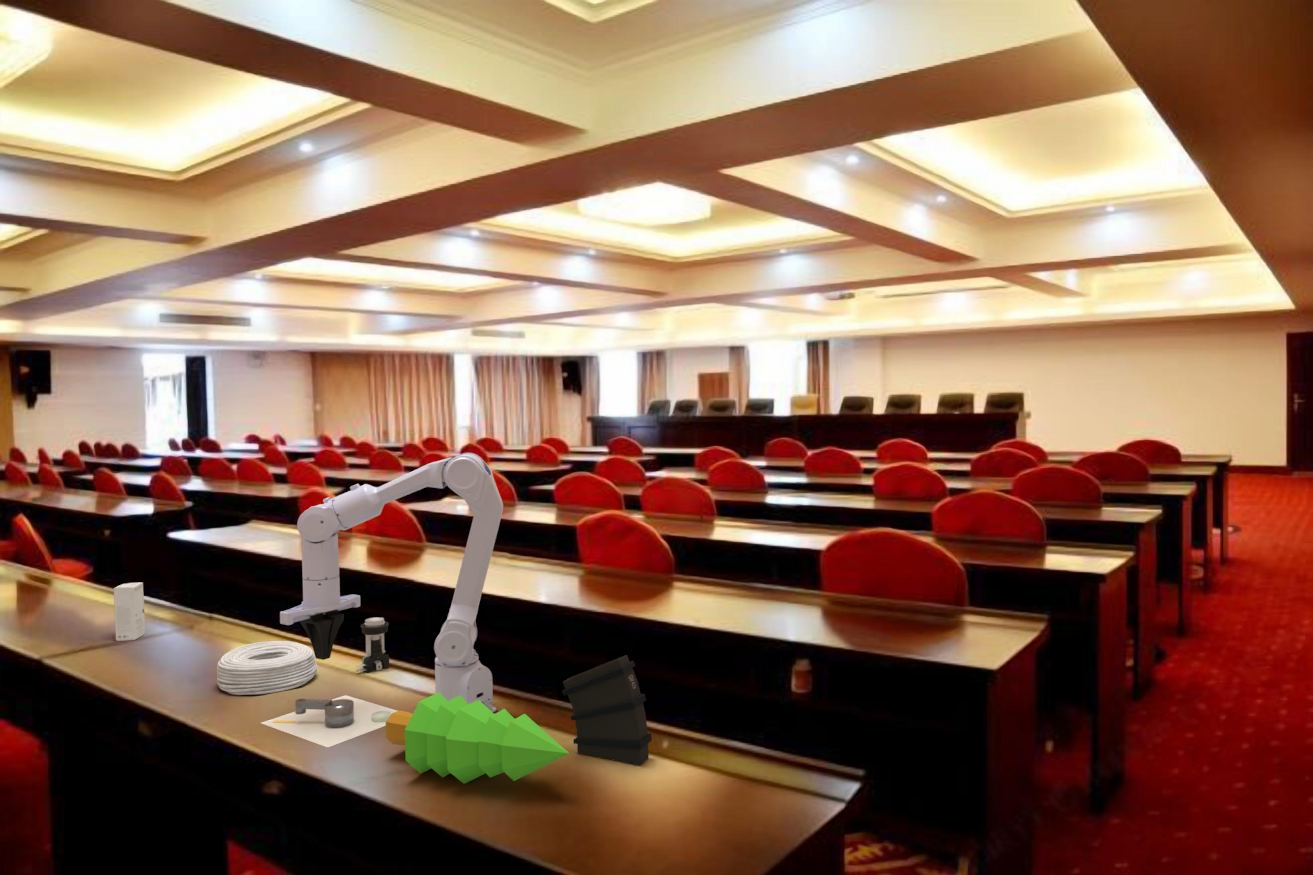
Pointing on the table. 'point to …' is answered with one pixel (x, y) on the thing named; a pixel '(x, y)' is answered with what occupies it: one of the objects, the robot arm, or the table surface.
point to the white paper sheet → (317, 732)
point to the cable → (266, 668)
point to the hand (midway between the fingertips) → (322, 657)
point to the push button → (374, 645)
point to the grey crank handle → (329, 710)
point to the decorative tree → (470, 740)
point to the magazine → (609, 712)
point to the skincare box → (129, 611)
